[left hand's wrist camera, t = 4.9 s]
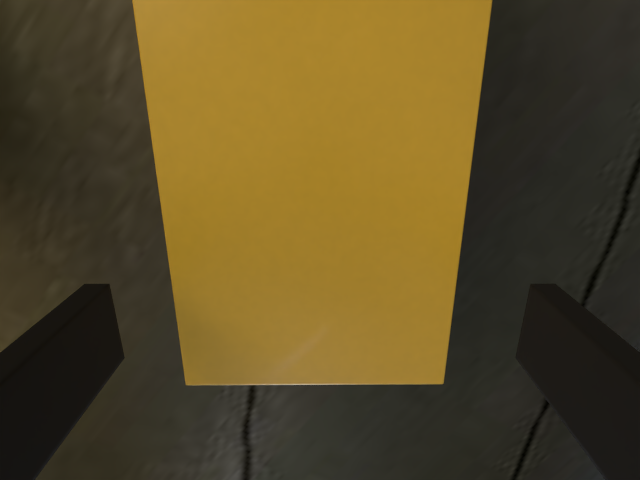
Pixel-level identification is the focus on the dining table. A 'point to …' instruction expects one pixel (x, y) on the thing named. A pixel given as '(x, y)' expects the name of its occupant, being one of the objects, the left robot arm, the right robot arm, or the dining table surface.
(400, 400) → the dining table surface
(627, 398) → the left robot arm
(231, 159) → the cabinet
